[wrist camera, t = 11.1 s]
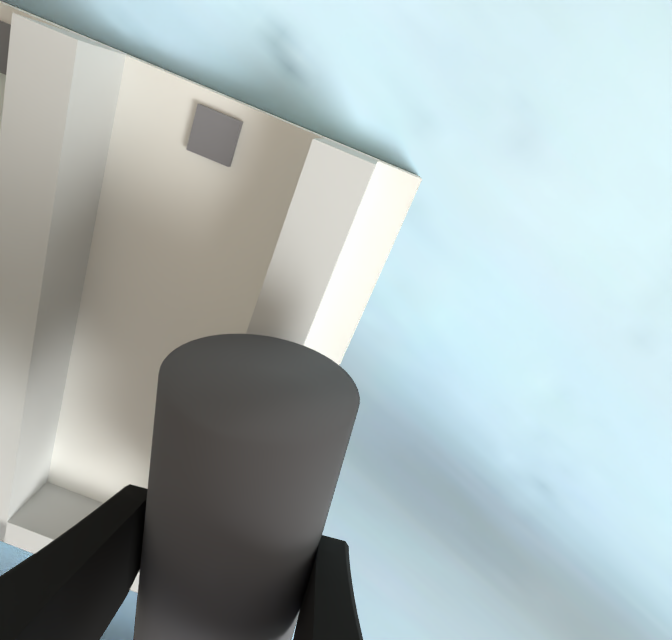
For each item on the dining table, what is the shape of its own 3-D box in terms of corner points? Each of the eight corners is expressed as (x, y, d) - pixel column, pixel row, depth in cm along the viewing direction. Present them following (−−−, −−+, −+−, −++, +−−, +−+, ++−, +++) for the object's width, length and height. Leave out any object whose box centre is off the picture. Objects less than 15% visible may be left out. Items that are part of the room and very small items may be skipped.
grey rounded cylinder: (300, 620, 14) (246, 779, 11) (182, 573, 15) (94, 708, 11) (374, 368, 11) (333, 473, 7) (219, 317, 12) (110, 393, 8)
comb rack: (252, 556, 19) (229, 627, 16) (-173, 393, 19) (-273, 438, 16) (420, 176, 13) (427, 186, 11) (-196, -82, 13) (-361, -144, 10)
